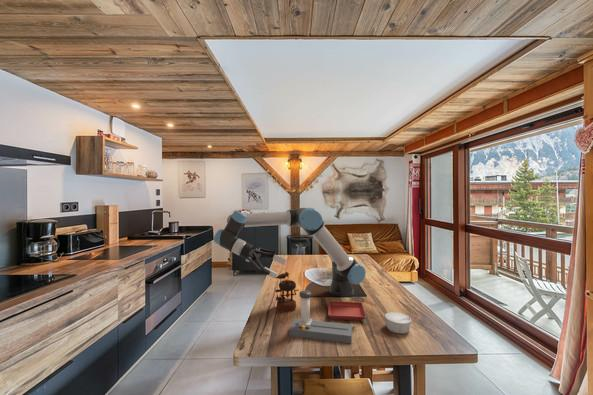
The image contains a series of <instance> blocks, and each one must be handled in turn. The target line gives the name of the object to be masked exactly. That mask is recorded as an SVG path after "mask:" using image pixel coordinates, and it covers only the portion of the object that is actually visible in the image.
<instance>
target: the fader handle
mask: <svg viewBox="0 0 593 395" xmlns="http://www.w3.org/2000/svg"><path fill="white" fill-rule="evenodd" d="M311 297H312V292H311V291H310V290H301V291H300V290H299V298H300V321H299V324H298V326H299V327H302V325H305V327H308V328H310V326H311V323H312V321H313V318H311Z"/></svg>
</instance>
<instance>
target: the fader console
mask: <svg viewBox="0 0 593 395" xmlns="http://www.w3.org/2000/svg"><path fill="white" fill-rule="evenodd" d="M300 319H301V318H300ZM300 319H299V318H294V319H293V322H292V324H291V326H290V327H289V336H290V337H295V338H303V339H311V340H312V339H313V340H320V341H327V342H328V341H329V342H337V343H344V344H352V338H353V335H352V334H353V327H352V326H353V325H352V324H350V323H349V324H348V323H339V322H330V321H329V322H328V321H322V320H321V321H320V320H312V323H311V326H310V328H308V327H305V325H302V327H299V326H298V324H299V321H300Z"/></svg>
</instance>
